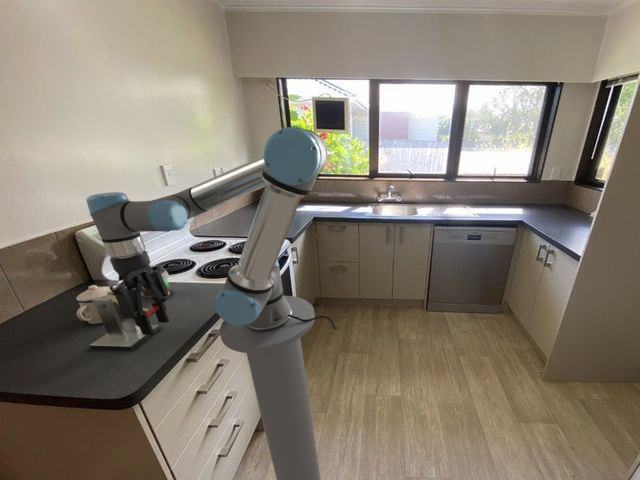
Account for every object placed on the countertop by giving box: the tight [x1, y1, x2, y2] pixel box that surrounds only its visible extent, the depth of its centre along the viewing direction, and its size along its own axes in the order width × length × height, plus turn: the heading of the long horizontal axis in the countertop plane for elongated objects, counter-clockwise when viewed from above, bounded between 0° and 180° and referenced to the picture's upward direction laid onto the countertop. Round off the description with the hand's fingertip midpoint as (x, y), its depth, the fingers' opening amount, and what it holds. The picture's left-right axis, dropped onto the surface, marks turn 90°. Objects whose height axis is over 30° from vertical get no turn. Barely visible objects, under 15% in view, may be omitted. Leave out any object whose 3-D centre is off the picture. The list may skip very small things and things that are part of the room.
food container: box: [141, 267, 171, 299], centre depth 108 cm, size 12×6×10 cm, turn 80°
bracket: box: [89, 291, 160, 351], centre depth 83 cm, size 12×10×15 cm
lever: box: [103, 294, 160, 318], centre depth 81 cm, size 13×5×2 cm, turn 87°
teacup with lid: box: [75, 284, 111, 325], centre depth 92 cm, size 12×9×12 cm
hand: (156, 327), depth 83 cm, fingers closed on lever, 5 cm apart
